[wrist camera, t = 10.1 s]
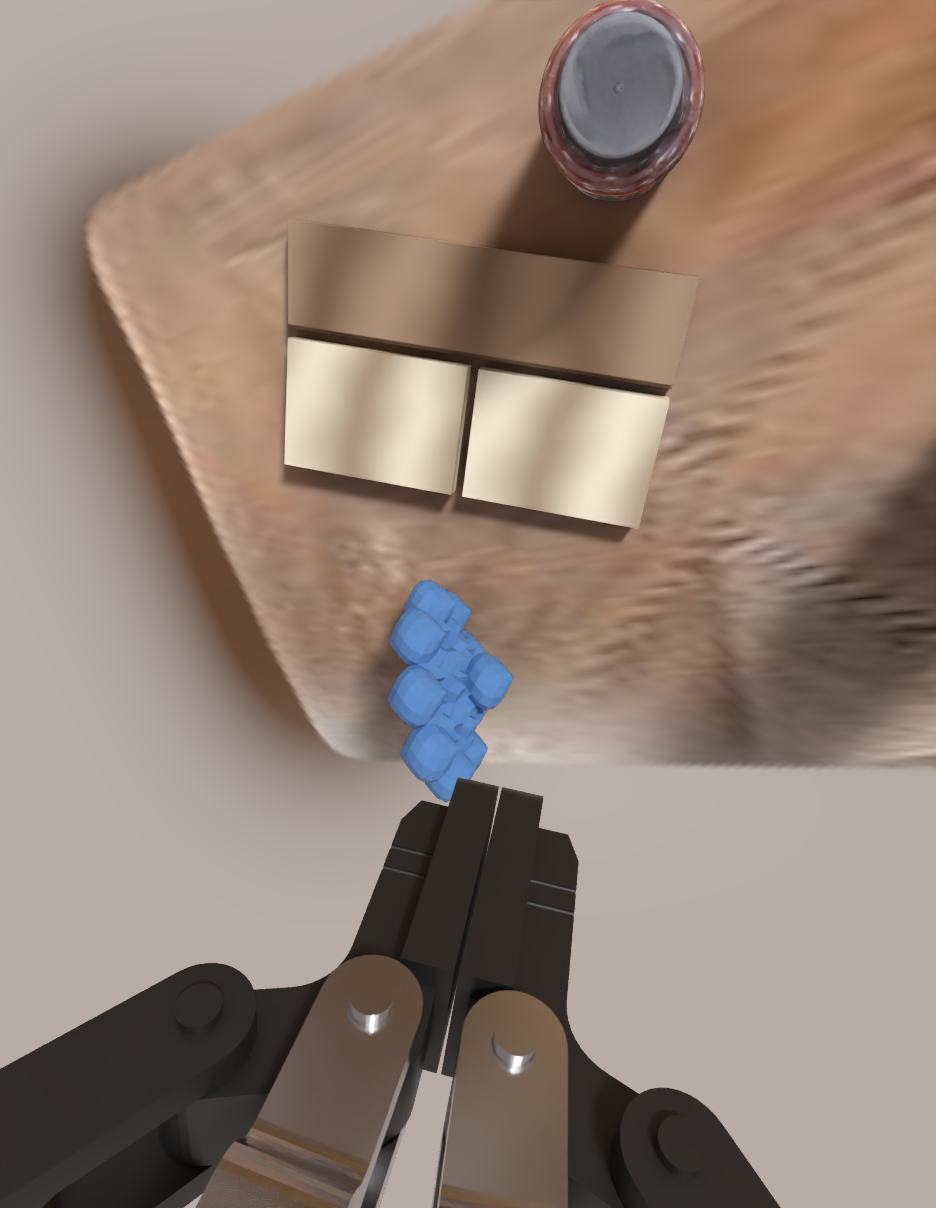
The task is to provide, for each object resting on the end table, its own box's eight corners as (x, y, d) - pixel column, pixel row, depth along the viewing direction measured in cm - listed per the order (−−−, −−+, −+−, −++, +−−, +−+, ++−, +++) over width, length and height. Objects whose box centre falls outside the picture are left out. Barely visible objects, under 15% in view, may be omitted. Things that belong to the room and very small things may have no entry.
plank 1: (471, 364, 40) (467, 367, 38) (455, 489, 42) (451, 495, 41) (296, 336, 41) (287, 337, 40) (292, 459, 44) (284, 464, 43)
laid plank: (698, 276, 36) (700, 278, 35) (670, 387, 38) (672, 391, 37) (297, 219, 38) (287, 219, 37) (296, 326, 40) (287, 329, 39)
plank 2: (668, 396, 38) (670, 400, 37) (638, 522, 41) (638, 528, 40) (482, 366, 40) (478, 369, 38) (466, 490, 43) (462, 496, 42)
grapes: (547, 703, 49) (524, 834, 38) (452, 714, 51) (405, 842, 40) (504, 543, 44) (465, 643, 34) (401, 562, 46) (333, 663, 36)
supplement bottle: (596, 230, 36) (583, 232, 26) (531, 111, 34) (490, 65, 24) (712, 146, 33) (747, 113, 23) (648, 13, 31) (656, -83, 22)
